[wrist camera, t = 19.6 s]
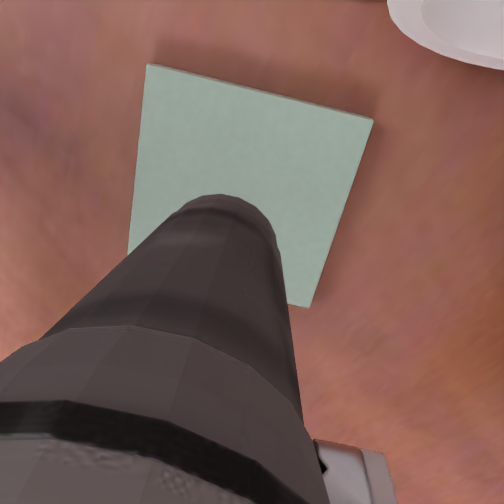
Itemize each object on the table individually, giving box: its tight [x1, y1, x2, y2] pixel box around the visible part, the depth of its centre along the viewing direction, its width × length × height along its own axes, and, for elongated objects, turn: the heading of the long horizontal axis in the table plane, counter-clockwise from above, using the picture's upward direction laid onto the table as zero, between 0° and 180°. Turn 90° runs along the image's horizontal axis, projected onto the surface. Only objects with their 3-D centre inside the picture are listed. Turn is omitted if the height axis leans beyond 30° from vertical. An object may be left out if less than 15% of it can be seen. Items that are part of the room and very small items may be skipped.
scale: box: [127, 63, 374, 308], centre depth 30 cm, size 15×16×3 cm
